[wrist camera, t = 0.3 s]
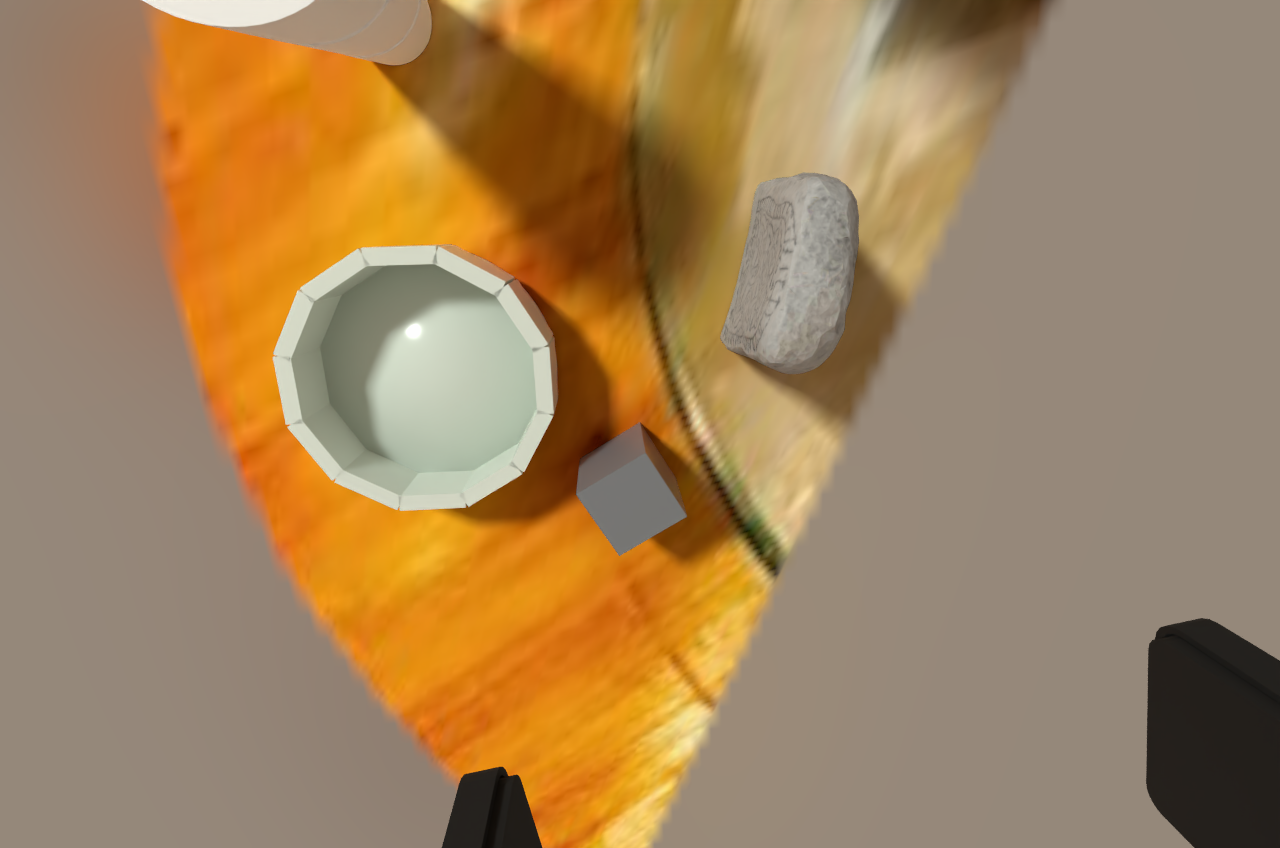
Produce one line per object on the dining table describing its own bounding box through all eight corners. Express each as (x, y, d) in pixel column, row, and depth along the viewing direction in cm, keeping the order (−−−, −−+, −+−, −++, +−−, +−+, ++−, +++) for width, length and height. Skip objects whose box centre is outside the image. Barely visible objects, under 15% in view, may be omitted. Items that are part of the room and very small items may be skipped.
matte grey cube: (579, 458, 45) (576, 494, 39) (640, 422, 45) (645, 452, 38) (617, 512, 46) (619, 555, 40) (675, 478, 46) (687, 516, 40)
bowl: (262, 330, 41) (217, 343, 37) (464, 194, 40) (445, 189, 35) (414, 519, 46) (392, 553, 41) (602, 404, 44) (602, 425, 39)
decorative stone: (737, 174, 40) (812, 142, 26) (828, 191, 41) (950, 168, 26) (705, 344, 43) (756, 399, 29) (790, 356, 44) (881, 417, 29)
